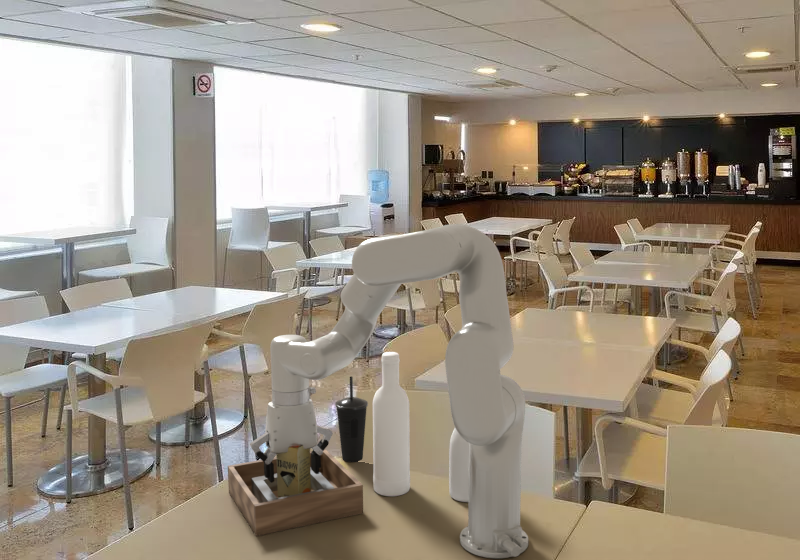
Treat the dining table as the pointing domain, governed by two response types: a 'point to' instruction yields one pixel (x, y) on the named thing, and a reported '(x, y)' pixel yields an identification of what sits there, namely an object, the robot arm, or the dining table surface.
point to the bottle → (391, 432)
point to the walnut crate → (294, 496)
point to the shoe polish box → (293, 471)
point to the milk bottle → (459, 468)
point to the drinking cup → (351, 425)
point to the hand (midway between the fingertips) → (293, 475)
